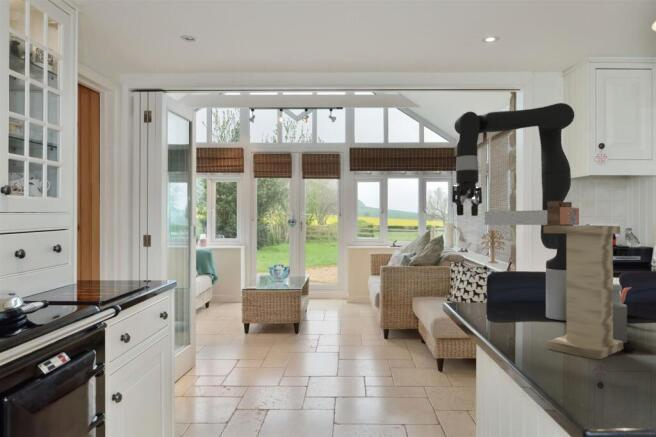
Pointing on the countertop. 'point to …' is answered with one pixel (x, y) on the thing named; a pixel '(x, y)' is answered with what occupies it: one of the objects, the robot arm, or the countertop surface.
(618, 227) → the shelf stand
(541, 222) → the bar
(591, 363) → the countertop surface
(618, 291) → the salt shaker
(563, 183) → the robot arm
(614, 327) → the coffee mug
